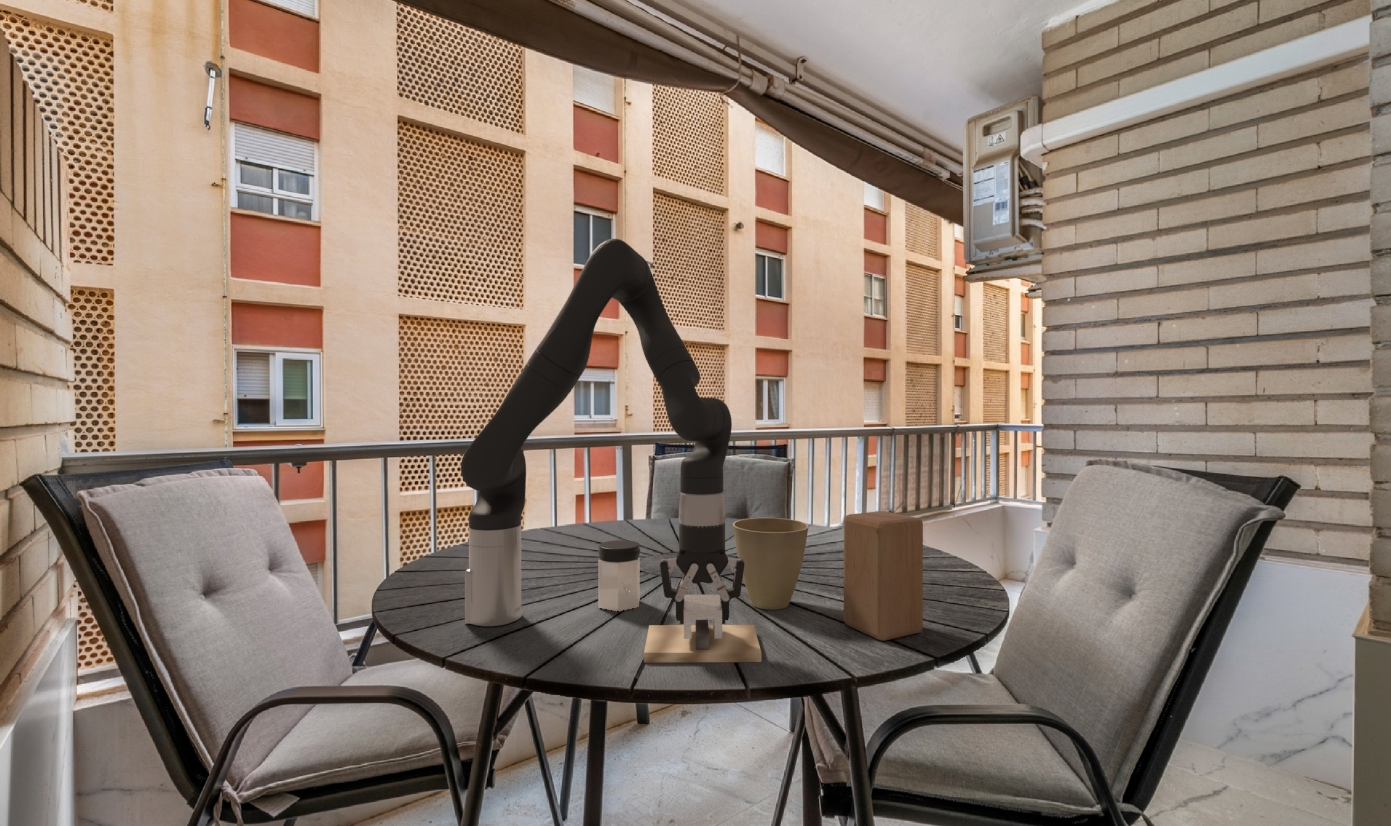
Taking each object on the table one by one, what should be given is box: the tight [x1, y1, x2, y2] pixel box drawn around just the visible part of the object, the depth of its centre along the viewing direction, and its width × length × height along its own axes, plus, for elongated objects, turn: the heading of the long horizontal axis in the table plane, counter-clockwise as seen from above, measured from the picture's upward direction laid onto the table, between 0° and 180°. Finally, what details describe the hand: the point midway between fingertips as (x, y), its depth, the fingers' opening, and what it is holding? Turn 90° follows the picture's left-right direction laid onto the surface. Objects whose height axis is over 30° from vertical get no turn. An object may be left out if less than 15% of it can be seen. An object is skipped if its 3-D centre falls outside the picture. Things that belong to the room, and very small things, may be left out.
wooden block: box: [843, 510, 924, 642], centre depth 108 cm, size 10×10×20 cm
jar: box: [597, 539, 641, 612], centre depth 122 cm, size 9×8×12 cm
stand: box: [643, 620, 762, 664], centre depth 100 cm, size 18×12×4 cm, turn 90°
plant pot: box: [732, 517, 809, 611], centre depth 122 cm, size 15×15×16 cm
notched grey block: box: [683, 594, 723, 639], centre depth 100 cm, size 6×8×4 cm
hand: (702, 622), depth 100 cm, fingers closed on notched grey block, 6 cm apart
